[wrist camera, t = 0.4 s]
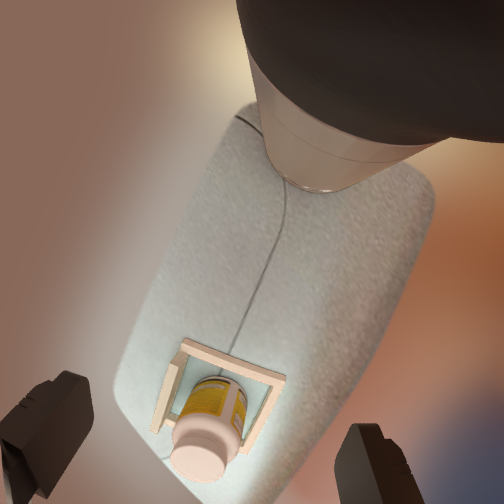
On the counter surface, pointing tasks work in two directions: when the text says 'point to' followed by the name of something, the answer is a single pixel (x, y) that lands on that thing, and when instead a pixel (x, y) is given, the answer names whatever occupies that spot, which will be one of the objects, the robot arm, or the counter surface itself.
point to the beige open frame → (223, 361)
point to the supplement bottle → (209, 429)
